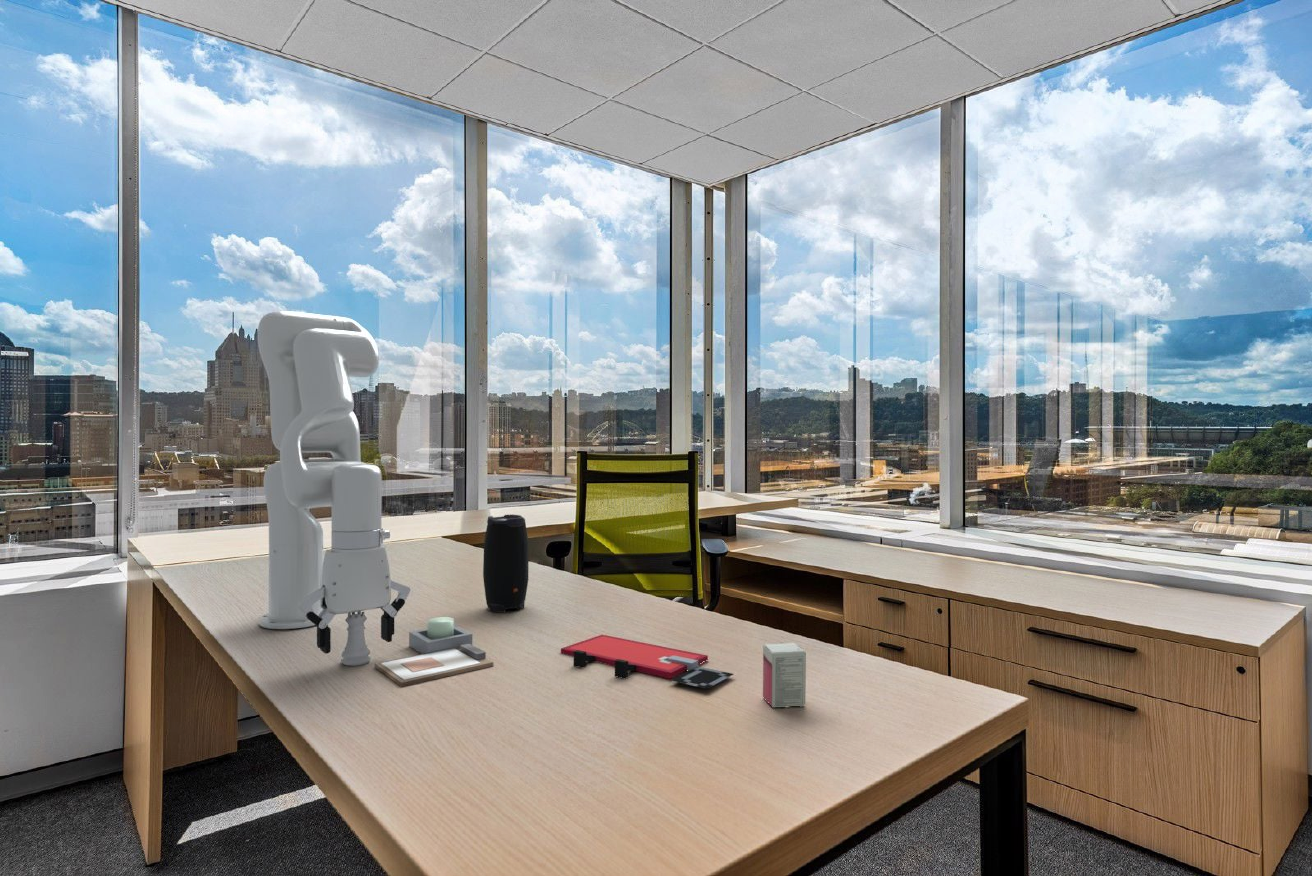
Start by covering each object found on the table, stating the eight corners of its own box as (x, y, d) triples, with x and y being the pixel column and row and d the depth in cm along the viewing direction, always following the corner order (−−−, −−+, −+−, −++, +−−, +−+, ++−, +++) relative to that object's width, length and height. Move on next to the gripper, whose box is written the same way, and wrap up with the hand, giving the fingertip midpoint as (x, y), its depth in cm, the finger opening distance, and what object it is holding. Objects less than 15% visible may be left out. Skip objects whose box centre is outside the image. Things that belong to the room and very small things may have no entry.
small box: (794, 696, 104) (795, 641, 104) (806, 707, 100) (806, 651, 100) (761, 697, 104) (762, 643, 103) (771, 709, 99) (772, 652, 99)
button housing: (409, 646, 126) (409, 631, 126) (452, 637, 131) (452, 624, 131) (427, 657, 120) (427, 642, 120) (472, 648, 125) (472, 634, 125)
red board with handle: (700, 699, 103) (748, 672, 115) (700, 679, 103) (748, 654, 115) (545, 662, 120) (601, 642, 132) (545, 645, 120) (602, 626, 132)
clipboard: (374, 667, 115) (375, 657, 114) (462, 649, 124) (462, 640, 124) (401, 686, 106) (401, 675, 106) (493, 665, 116) (493, 655, 116)
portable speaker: (529, 612, 150) (530, 518, 149) (483, 614, 147) (484, 519, 147) (526, 602, 158) (526, 513, 158) (482, 604, 156) (483, 514, 155)
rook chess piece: (359, 667, 114) (360, 617, 114) (334, 665, 115) (335, 615, 115) (376, 659, 119) (376, 610, 119) (351, 657, 120) (352, 609, 119)
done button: (423, 636, 126) (423, 619, 125) (447, 632, 128) (447, 615, 128) (433, 642, 122) (433, 625, 122) (458, 638, 125) (458, 620, 125)
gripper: (400, 533, 125) (400, 631, 125) (292, 542, 114) (292, 650, 114) (418, 538, 119) (417, 641, 119) (305, 548, 108) (305, 662, 108)
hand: (356, 645), depth 117 cm, fingers open, 9 cm apart
